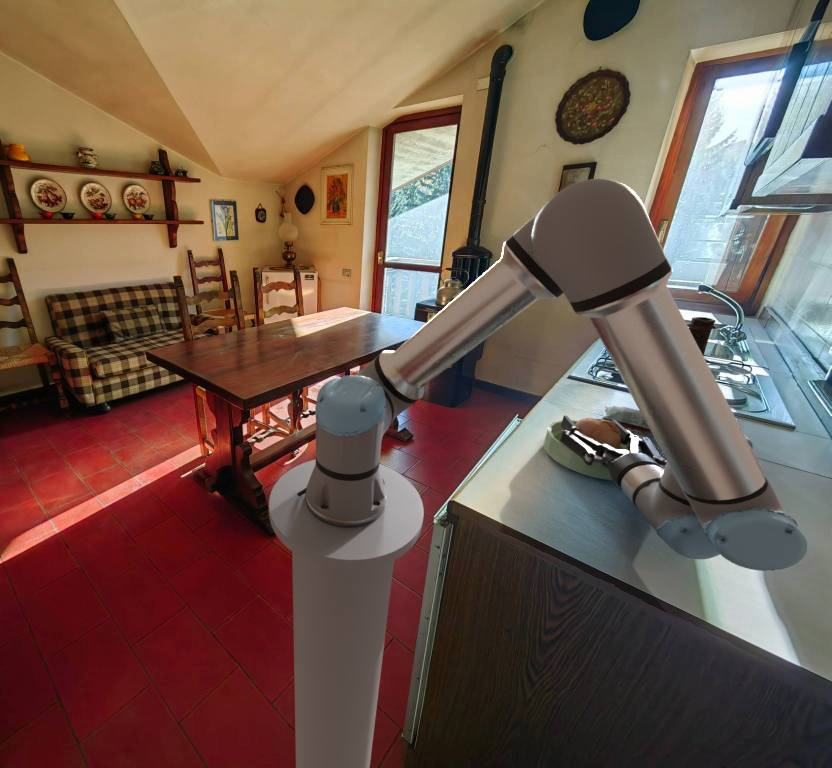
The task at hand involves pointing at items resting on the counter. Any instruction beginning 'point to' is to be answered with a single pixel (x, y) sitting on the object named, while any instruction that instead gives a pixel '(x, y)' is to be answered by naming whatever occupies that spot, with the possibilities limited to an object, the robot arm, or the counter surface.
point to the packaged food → (627, 418)
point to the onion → (600, 431)
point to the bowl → (572, 453)
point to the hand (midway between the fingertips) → (587, 422)
